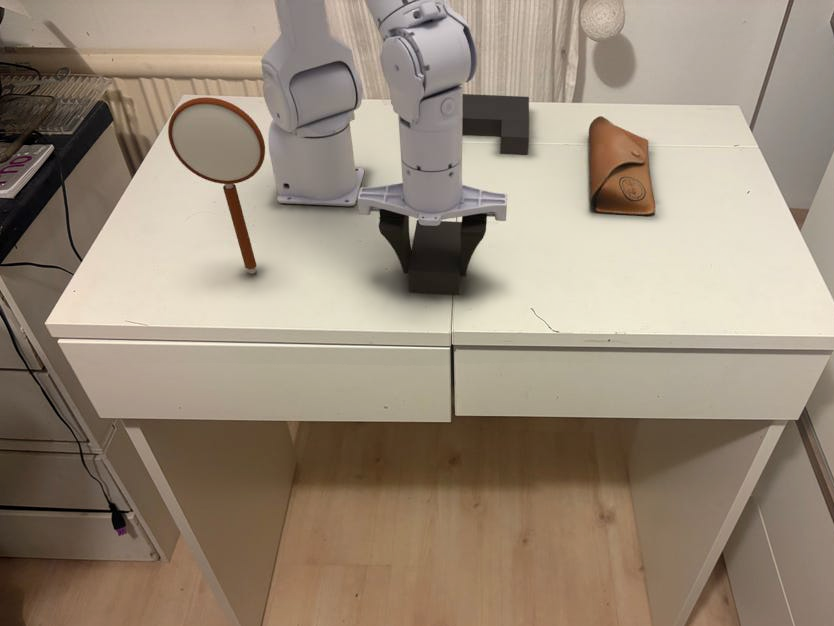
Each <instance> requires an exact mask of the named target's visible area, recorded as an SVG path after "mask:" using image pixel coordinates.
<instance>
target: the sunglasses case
mask: <svg viewBox="0 0 834 626" xmlns="http://www.w3.org/2000/svg"><path fill="white" fill-rule="evenodd" d="M588 127H589V128H588V158H589V161H588V163H589V199H590V204H591V206H592V208H593V209H594V210H595V211H596V212H597V213H602V214H603V213H604V214H609V215H622V216H648V215H653V214H655V213H656V201H655V195H654V190H653V189H654V188H653V184H652V178H651V177H652V176H651V171H650V170H651V169H650V159H649V157H650V156H649V140H648V139H647V138H644V137H642V136H639V135H638V134H635V133H633V132H631V131H629V130H627V129H624V128H622V127H620V126H617V125H616V124H614V123H613V122H612V121H610V120H608V119H607V118H606V117H604V116H602V115H599V116H597V117H595V118H594V119H593V120H592V121H591V122H590V124H589V126H588Z"/></svg>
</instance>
